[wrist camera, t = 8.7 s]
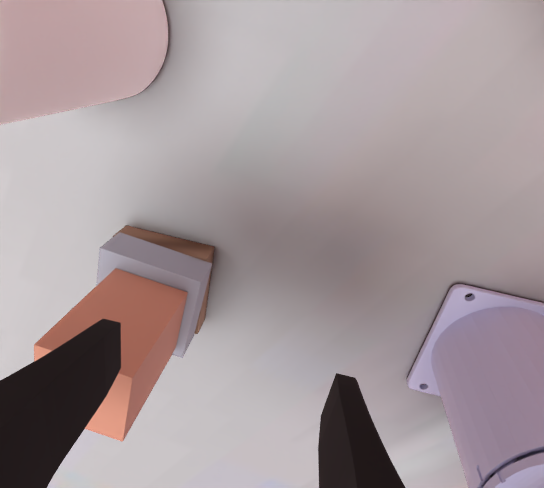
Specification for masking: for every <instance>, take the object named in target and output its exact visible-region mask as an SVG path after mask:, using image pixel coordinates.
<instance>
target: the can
mask: <svg viewBox="0 0 544 488" xmlns="http://www.w3.org/2000/svg"><path fill="white" fill-rule="evenodd" d="M167 46H168V23H167V17H166V12H165V8H164V5H163V2H162V0H0V125H1V124H6V123H11V122H16V121H21V120H26V119H30V118H35V117H40V116H45V115H50V114H55V113H59V112H64V111H69V110H74V109H78V108H83V107H88V106H93V105H97V104H102V103H106V102H111V101H116V100H120V99H124V98H128V97H131V96H134V95H136V94H138V93H140V92H141V91H143V90H144V89H145V88H146V87H148V86H149V85H150V83H151V82H152V81H153V80H154V78H155V77H156V76H157V74H158V73H159V71H160V69H161V67H162V65H163V63H164V60H165V56H166V52H167Z"/></svg>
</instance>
